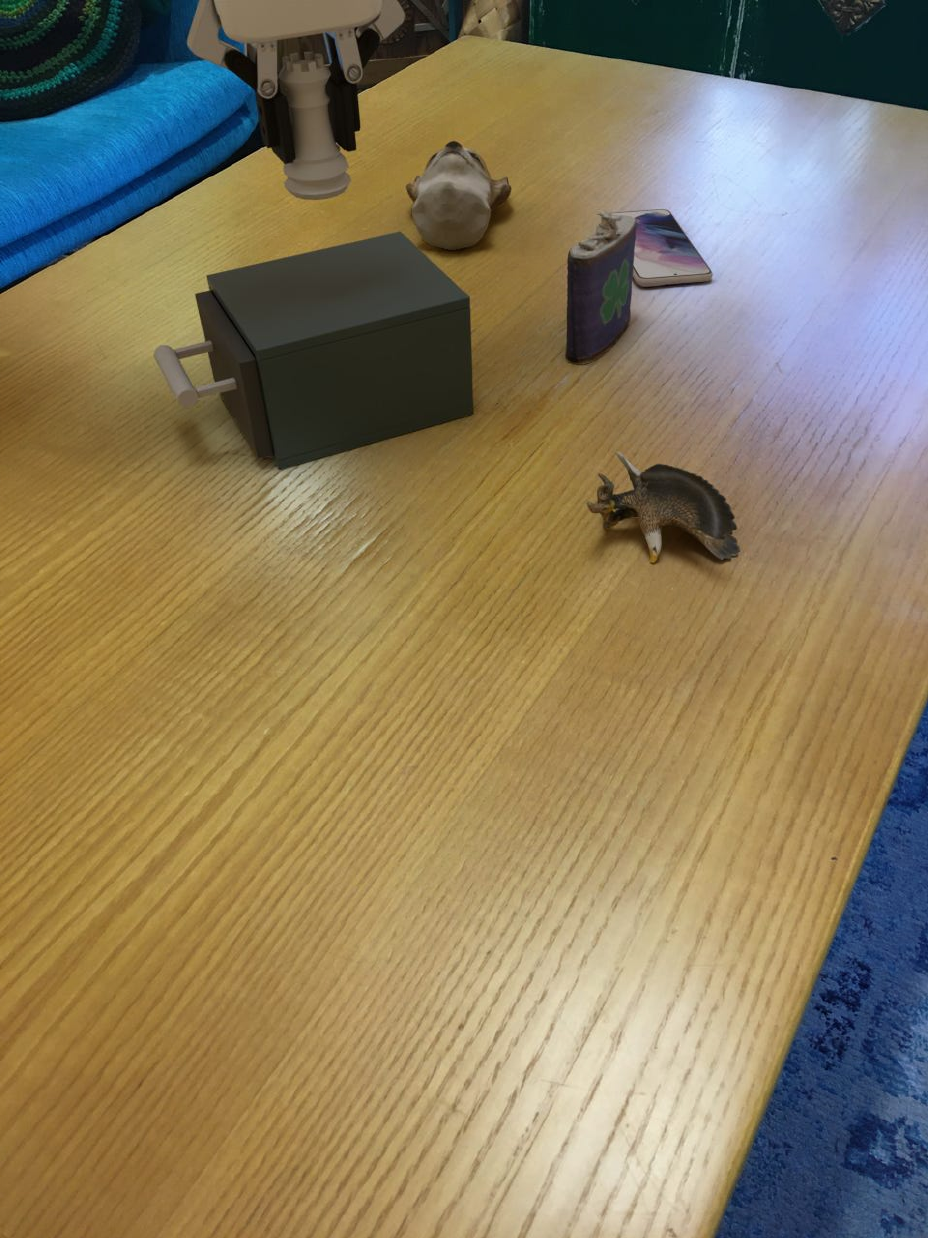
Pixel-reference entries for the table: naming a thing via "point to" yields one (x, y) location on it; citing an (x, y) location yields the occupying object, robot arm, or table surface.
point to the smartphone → (664, 251)
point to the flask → (600, 288)
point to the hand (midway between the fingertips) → (313, 147)
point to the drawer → (221, 373)
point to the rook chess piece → (312, 132)
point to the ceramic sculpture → (455, 197)
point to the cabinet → (352, 344)
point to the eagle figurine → (670, 507)
